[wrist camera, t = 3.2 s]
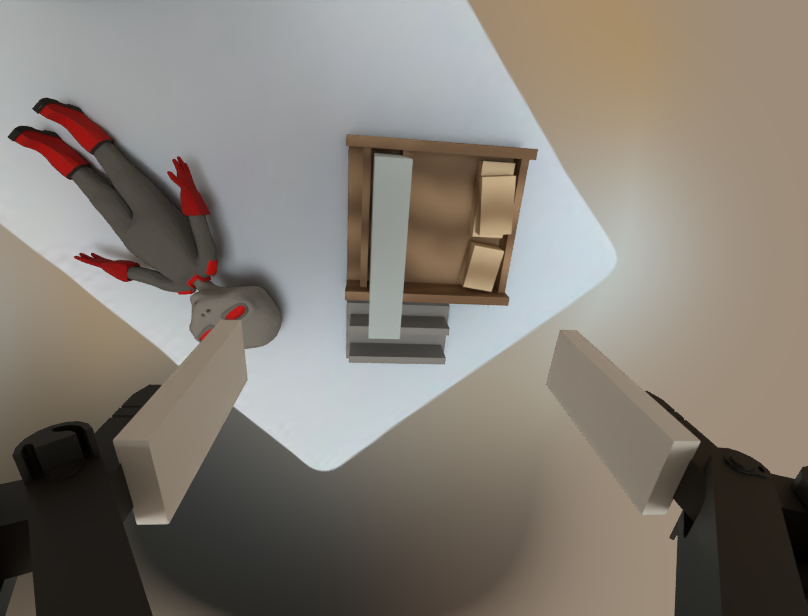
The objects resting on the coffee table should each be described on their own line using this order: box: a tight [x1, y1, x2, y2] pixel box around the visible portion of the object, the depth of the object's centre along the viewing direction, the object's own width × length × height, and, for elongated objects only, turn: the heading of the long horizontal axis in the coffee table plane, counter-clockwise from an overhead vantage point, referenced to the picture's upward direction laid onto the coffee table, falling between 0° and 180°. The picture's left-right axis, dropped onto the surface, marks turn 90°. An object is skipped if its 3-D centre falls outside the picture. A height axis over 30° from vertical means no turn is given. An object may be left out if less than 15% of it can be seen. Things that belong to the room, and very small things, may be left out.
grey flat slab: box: [368, 153, 413, 339], centre depth 36 cm, size 14×3×16 cm, turn 176°
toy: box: [8, 98, 282, 349], centre depth 41 cm, size 16×10×30 cm
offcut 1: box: [468, 161, 515, 238], centre depth 42 cm, size 8×4×2 cm, turn 176°
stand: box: [346, 300, 449, 364], centre depth 48 cm, size 13×8×4 cm, turn 86°
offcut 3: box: [458, 240, 504, 292], centre depth 45 cm, size 5×4×3 cm
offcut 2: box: [475, 175, 516, 236], centre depth 40 cm, size 6×4×2 cm, turn 2°
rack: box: [345, 134, 538, 306], centre depth 42 cm, size 17×19×5 cm
